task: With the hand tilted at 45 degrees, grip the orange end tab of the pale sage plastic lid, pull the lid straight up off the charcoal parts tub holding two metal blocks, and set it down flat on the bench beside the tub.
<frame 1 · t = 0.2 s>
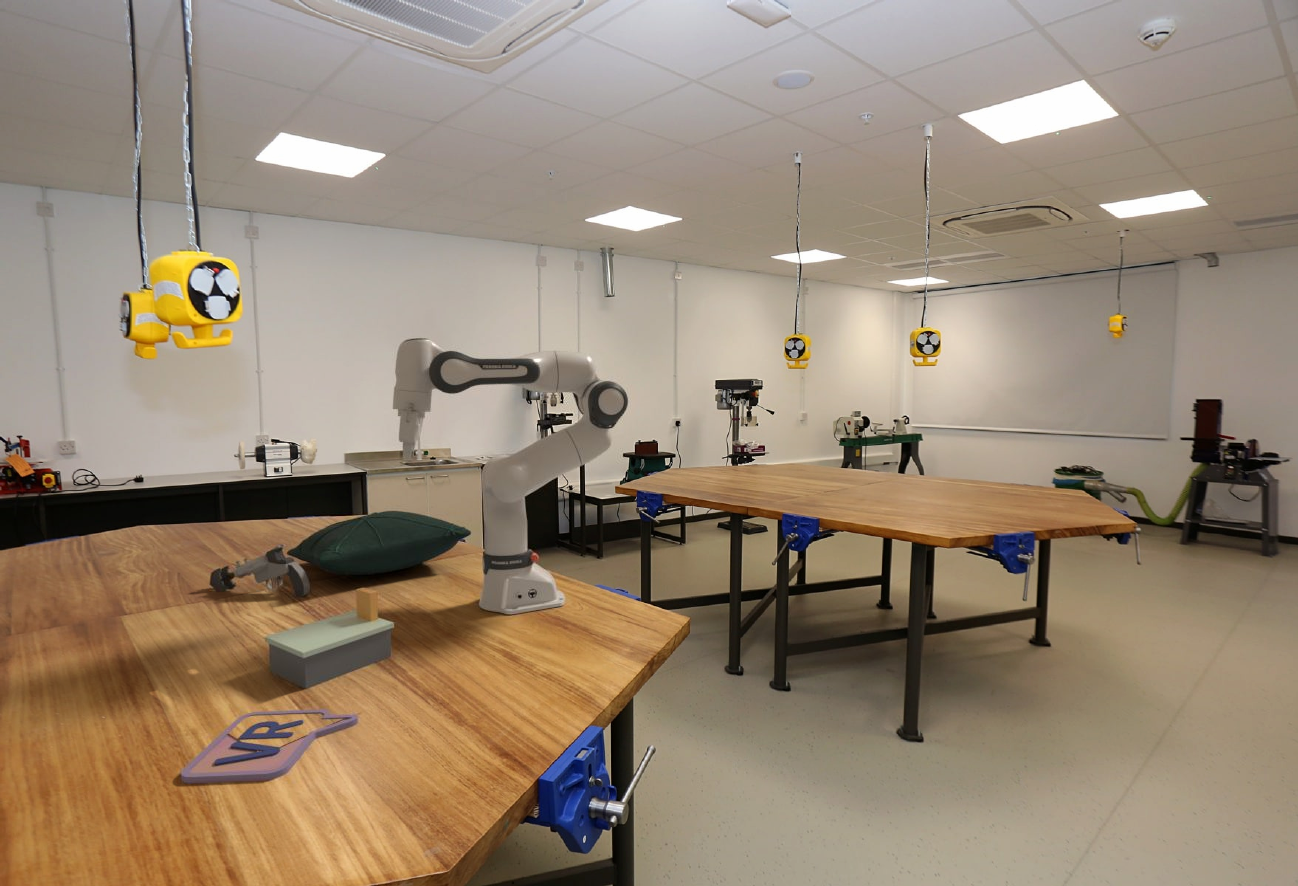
hand: (408, 459, 161), 39 cm above the table, fingers open, 8 cm apart
lid: (331, 634, 131), point 7 cm above the table, touching tub
tub: (332, 667, 132), on the table
pillow: (377, 569, 205), on the table
grey mechanical piece: (260, 593, 181), on the table
icon: (278, 749, 103), on the table
brass block: (341, 655, 136), point 1 cm above the table, touching tub
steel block: (317, 674, 127), point 1 cm above the table, touching tub
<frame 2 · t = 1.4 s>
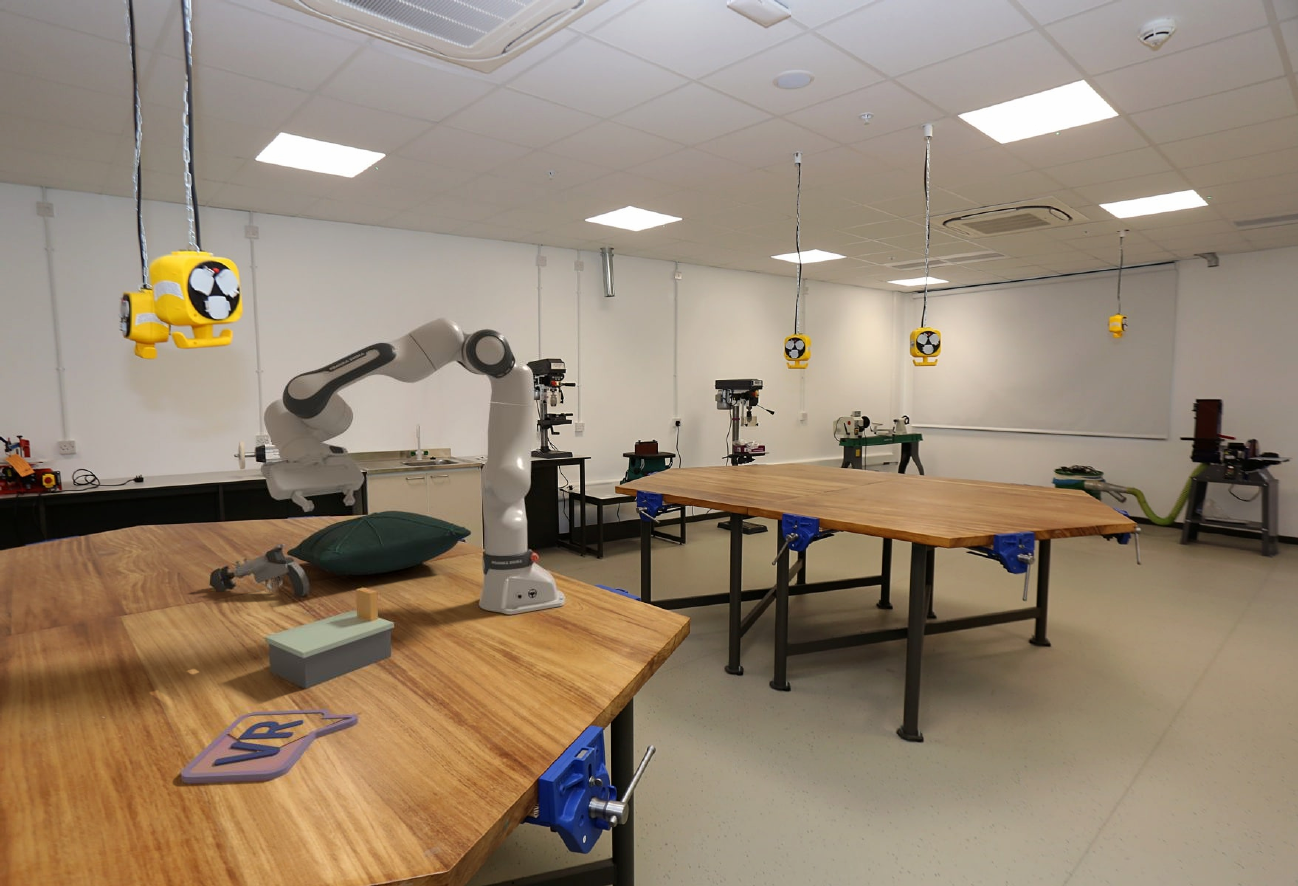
hand: (331, 506, 143), 31 cm above the table, fingers open, 8 cm apart
nothing on the table moved.
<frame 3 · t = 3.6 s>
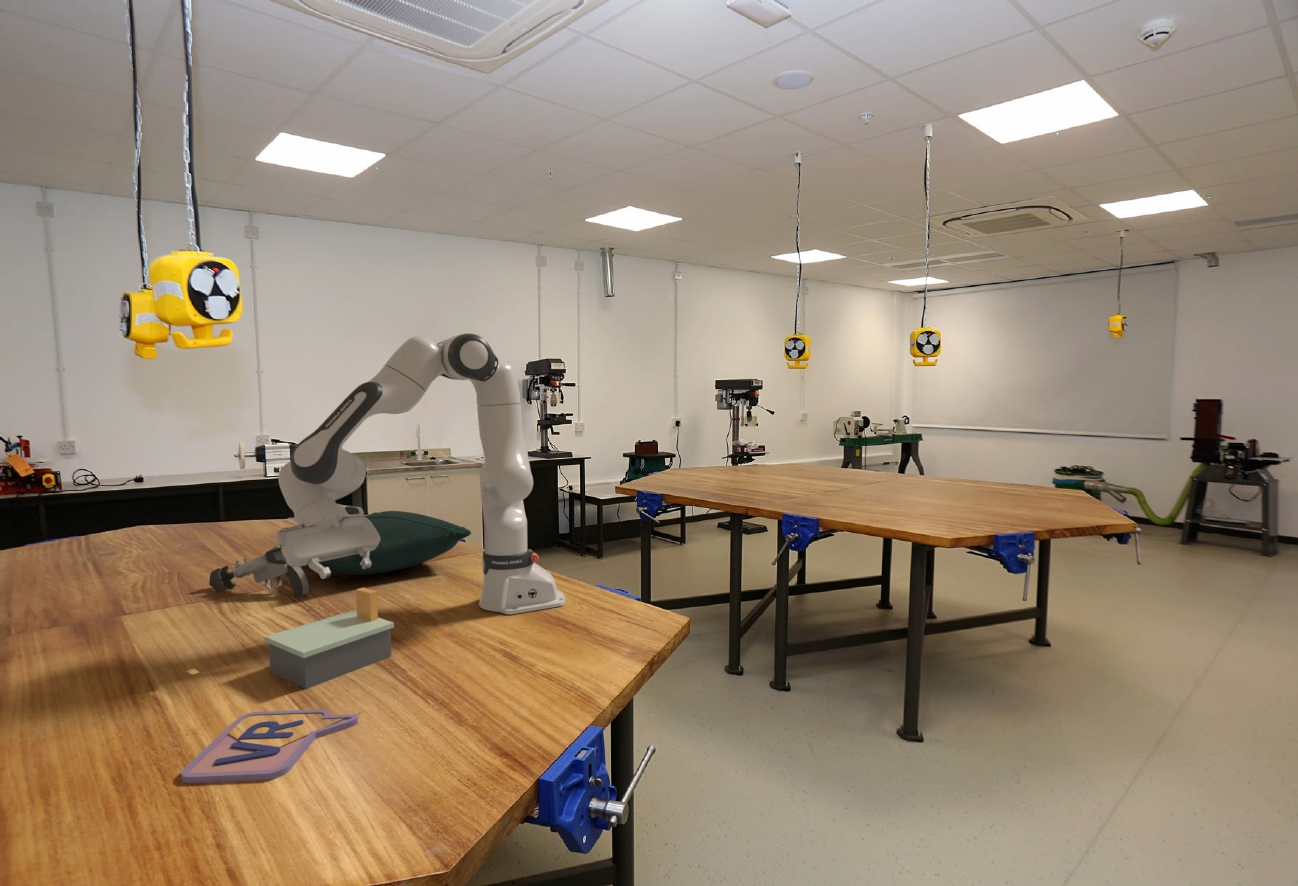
hand: (347, 571, 141), 17 cm above the table, fingers open, 8 cm apart
nothing on the table moved.
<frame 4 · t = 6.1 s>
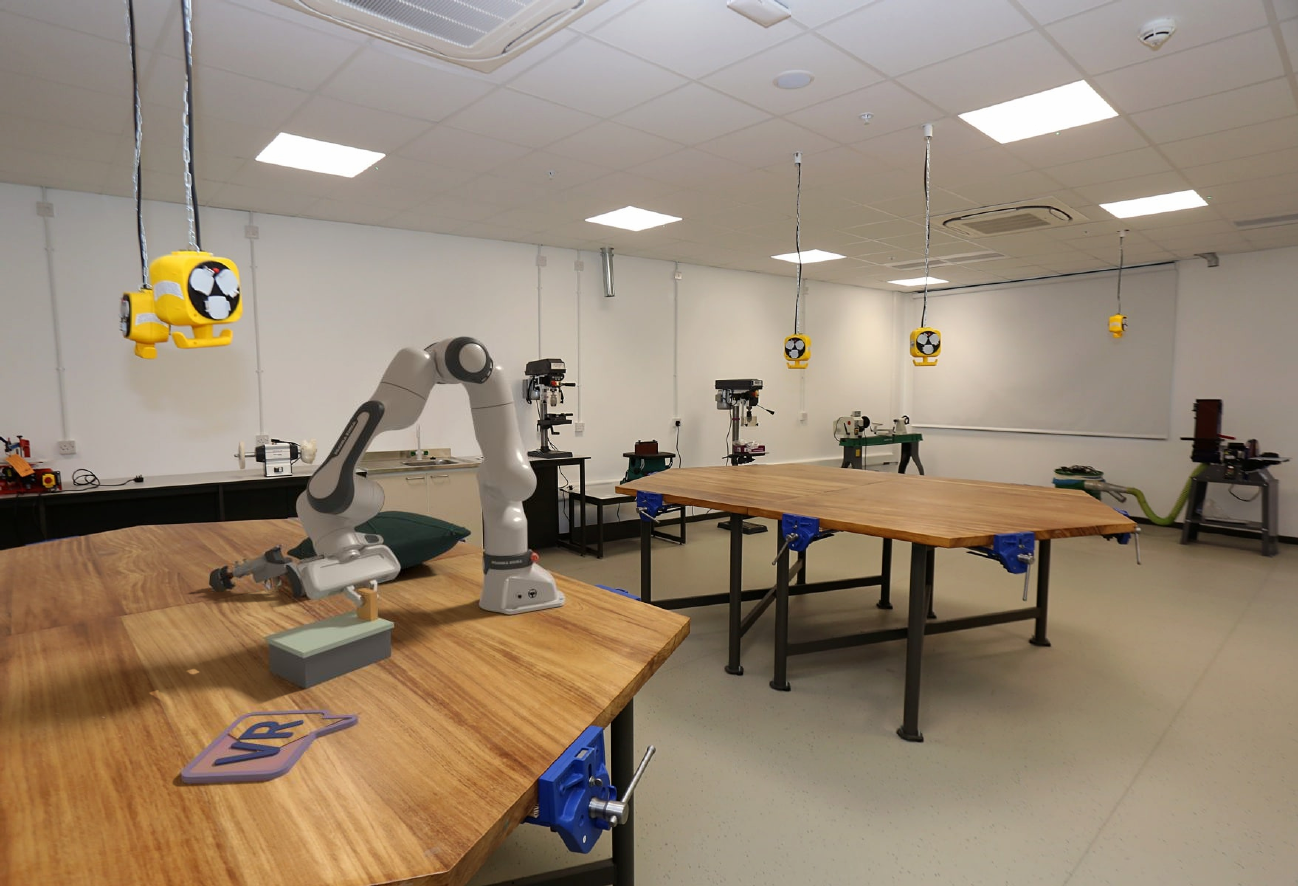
hand: (368, 603, 137), 11 cm above the table, fingers closed on lid
lid: (331, 634, 131), point 7 cm above the table, touching gripper, tub
everything else where it was.
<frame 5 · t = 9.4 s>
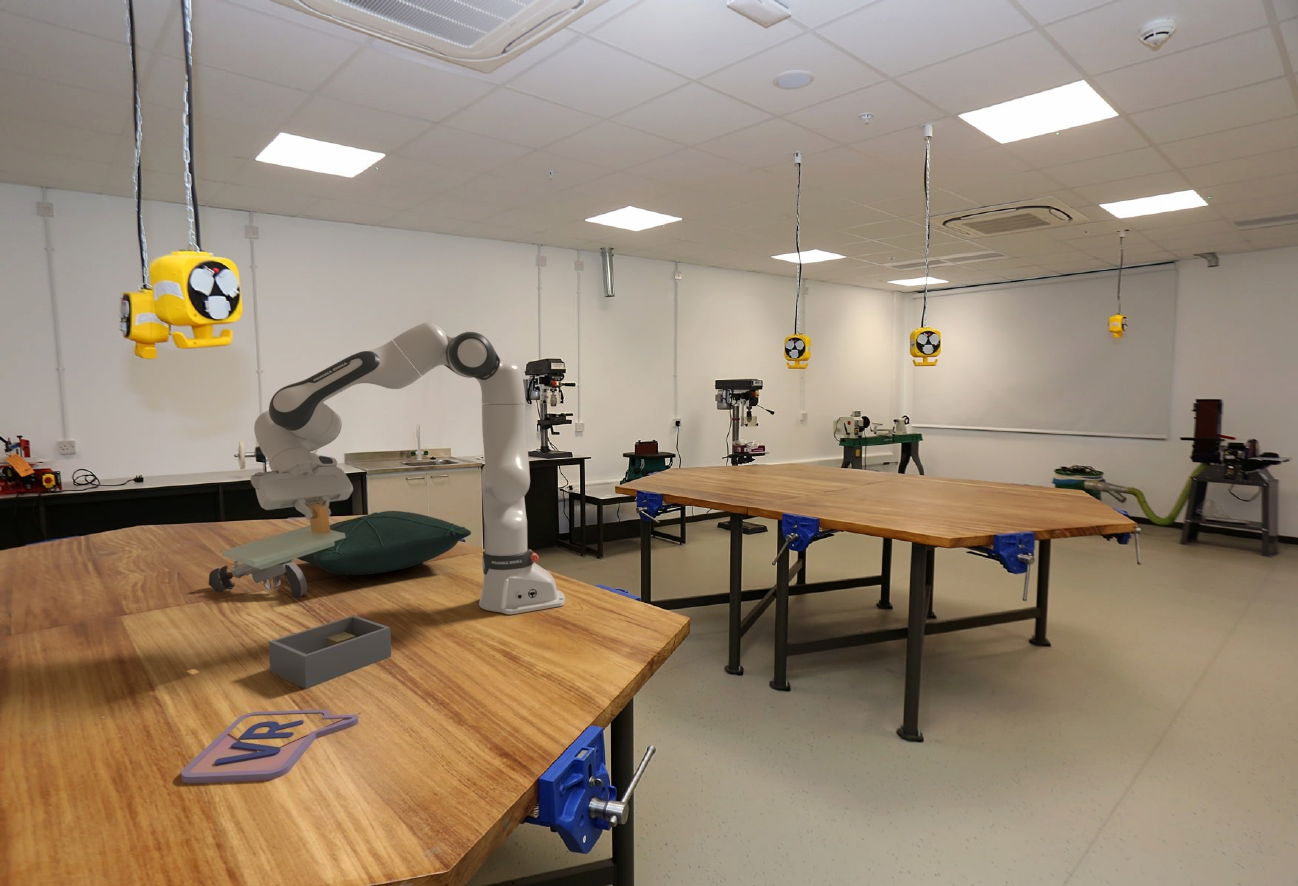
hand: (319, 516, 145), 28 cm above the table, fingers closed on lid
lid: (285, 546, 140), point 23 cm above the table, tilted 7°, touching gripper
everything else where it was.
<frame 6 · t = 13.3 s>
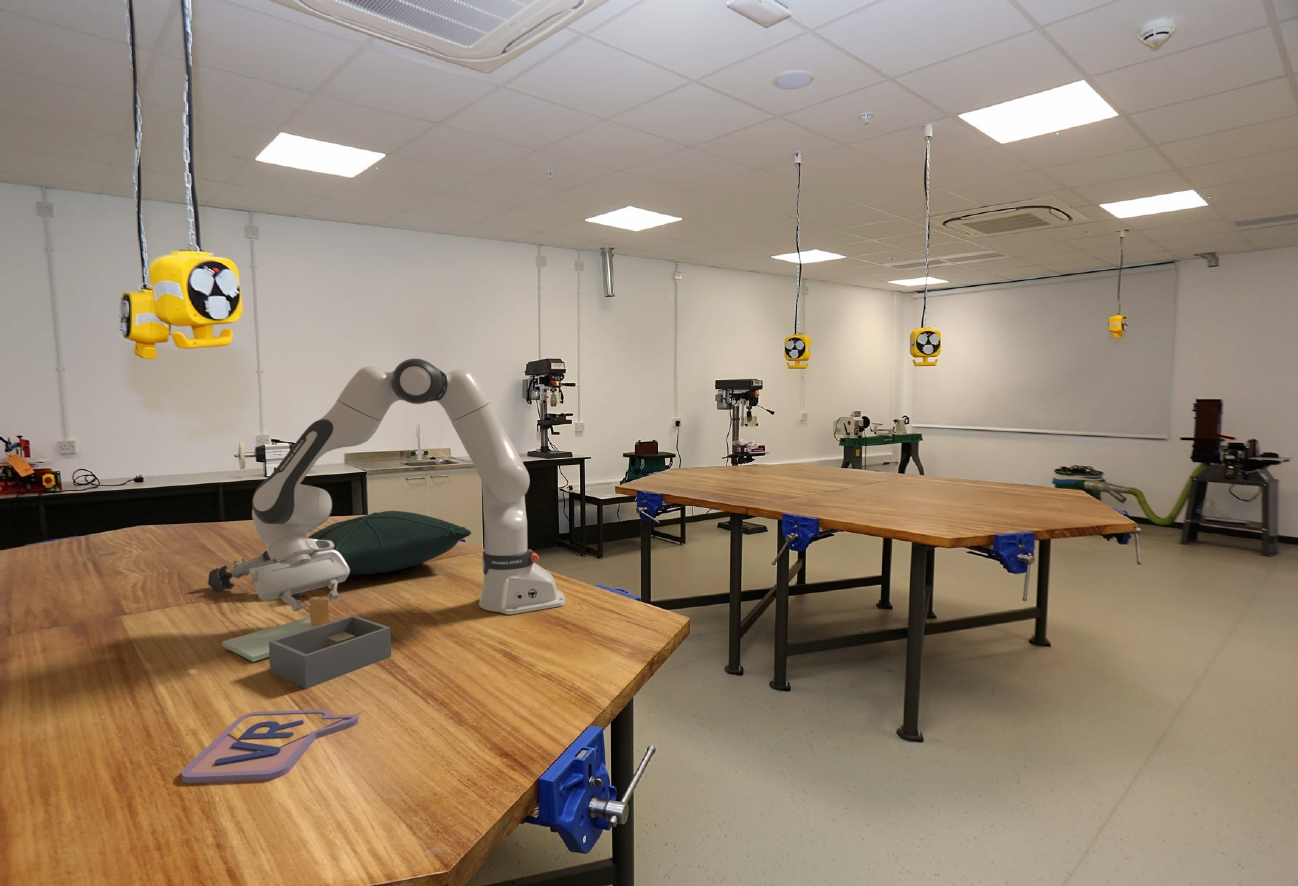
hand: (317, 604, 149), 7 cm above the table, fingers open, 7 cm apart
lid: (284, 639, 144), point 1 cm above the table
everything else where it was.
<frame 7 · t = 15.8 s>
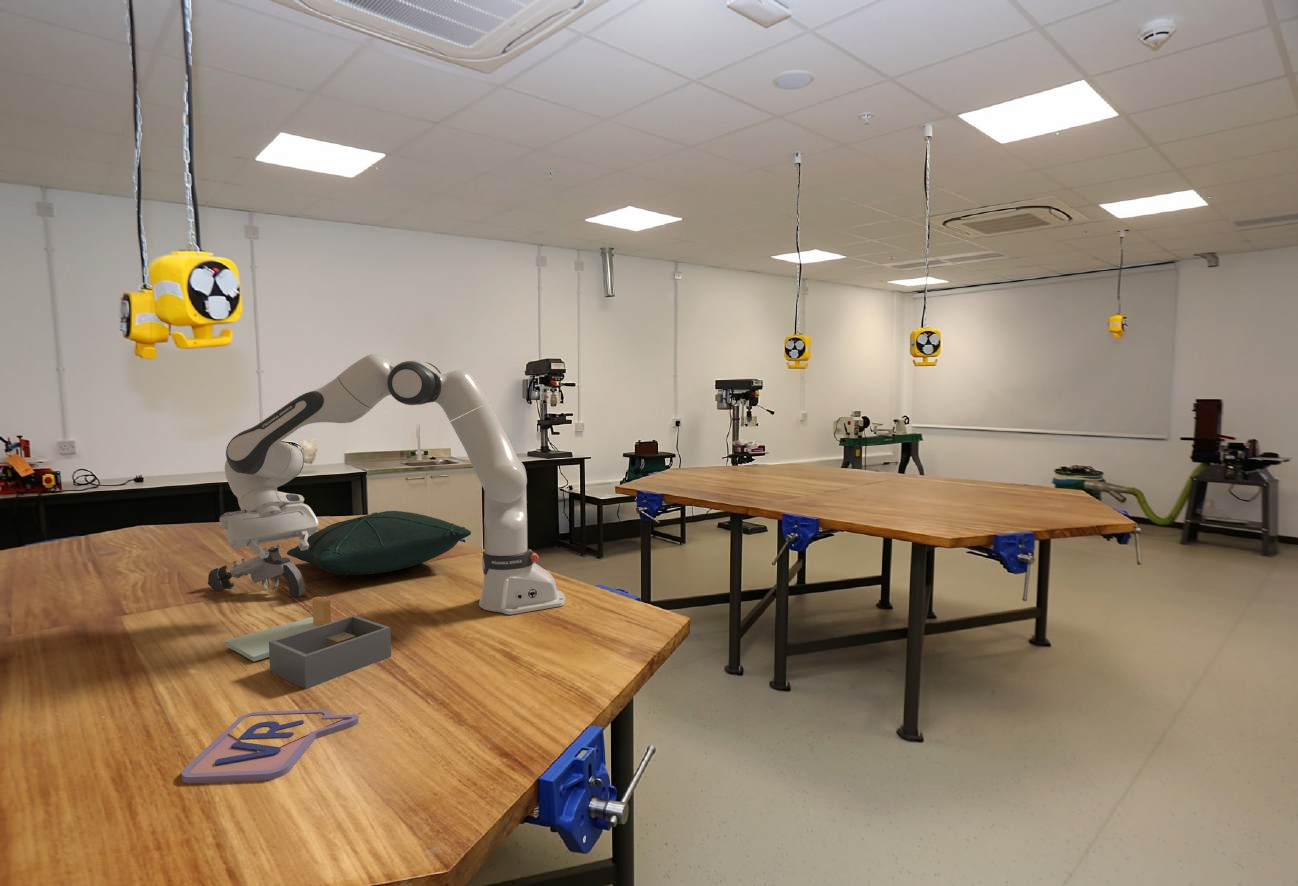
hand: (285, 552, 155), 17 cm above the table, fingers open, 8 cm apart
nothing on the table moved.
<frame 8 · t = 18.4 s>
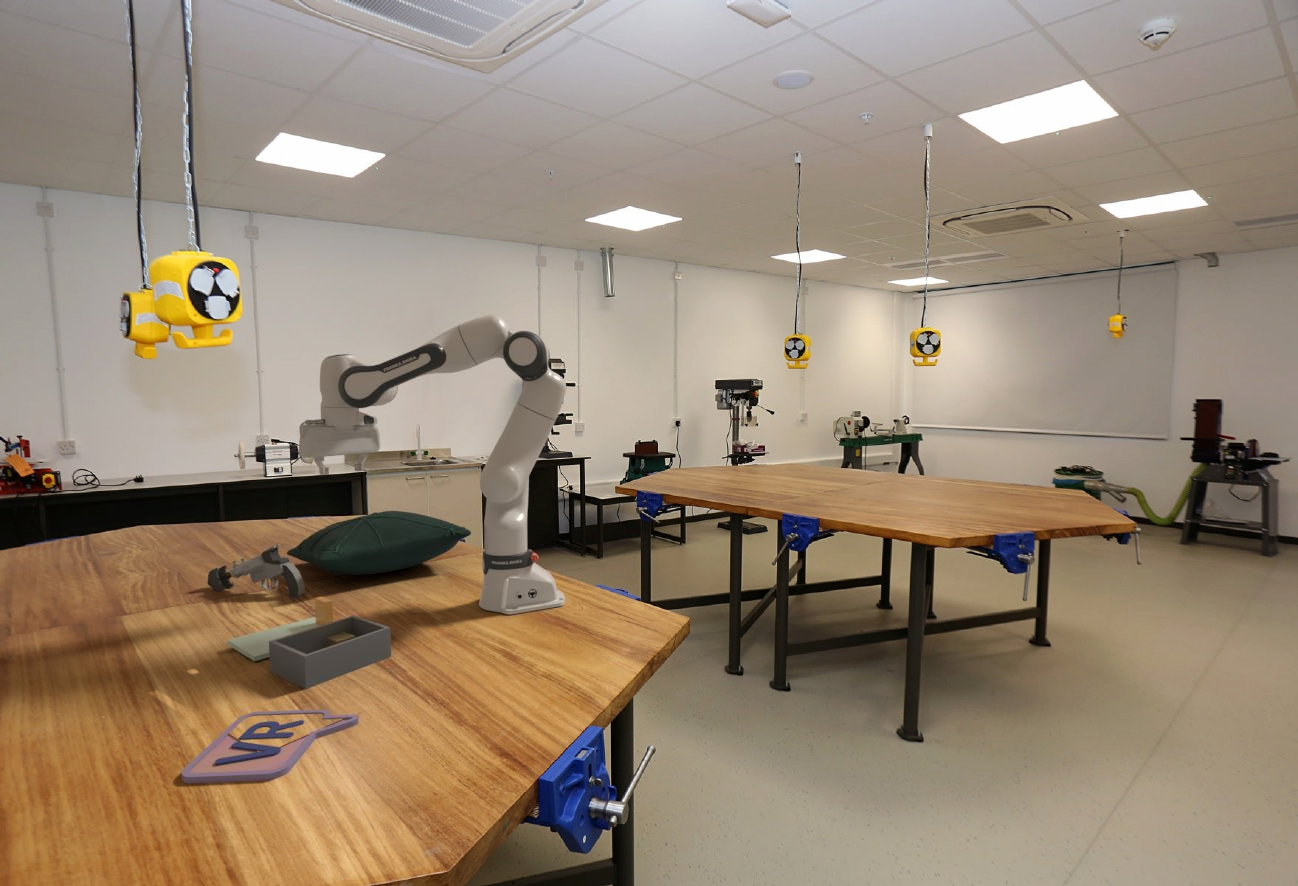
hand: (341, 472, 166), 35 cm above the table, fingers open, 8 cm apart
at the end: lid inside the target area on the table beside the tub (1.7 cm from its centre), point 1.1 cm above the table; lid touching table; the gripper is holding nothing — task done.
